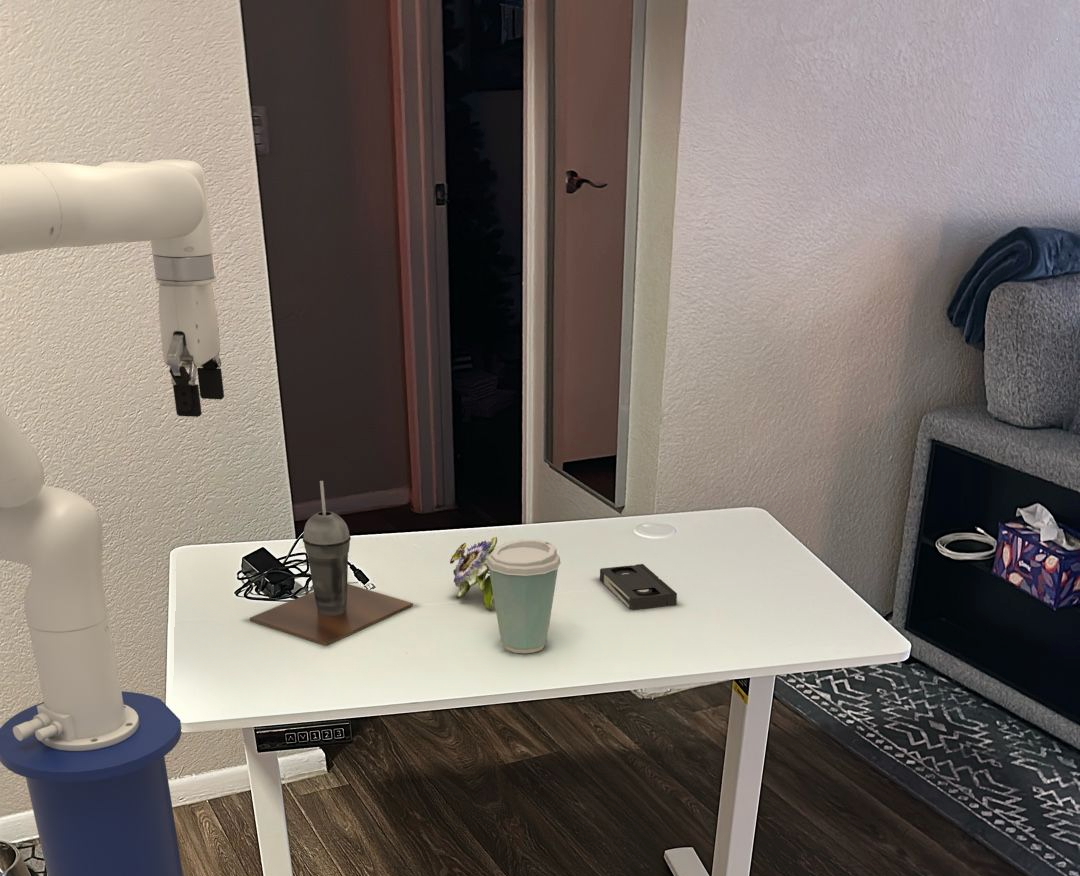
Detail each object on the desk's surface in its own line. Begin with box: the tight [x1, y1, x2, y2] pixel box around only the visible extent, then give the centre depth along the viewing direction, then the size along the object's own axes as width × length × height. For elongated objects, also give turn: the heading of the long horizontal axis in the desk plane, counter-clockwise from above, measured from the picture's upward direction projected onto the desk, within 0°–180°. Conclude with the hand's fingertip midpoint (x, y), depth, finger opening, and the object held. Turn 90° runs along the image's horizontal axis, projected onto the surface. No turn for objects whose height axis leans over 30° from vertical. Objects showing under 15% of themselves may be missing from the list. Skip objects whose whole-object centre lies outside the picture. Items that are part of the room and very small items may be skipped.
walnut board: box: [249, 583, 414, 647], centre depth 200 cm, size 20×16×1 cm
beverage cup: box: [302, 480, 352, 616], centre depth 195 cm, size 7×7×20 cm
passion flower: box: [449, 536, 498, 612], centre depth 205 cm, size 11×11×12 cm
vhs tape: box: [599, 563, 678, 611], centre depth 210 cm, size 14×8×2 cm, turn 19°
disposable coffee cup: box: [487, 538, 561, 654], centre depth 187 cm, size 11×11×15 cm
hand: (201, 407), depth 172 cm, fingers open, 9 cm apart
